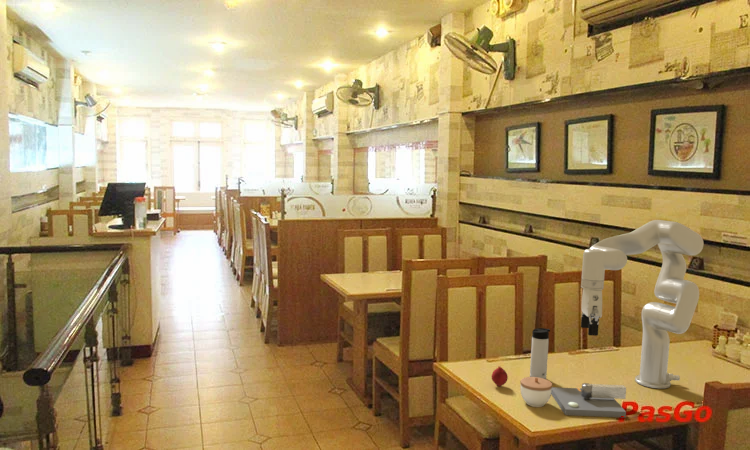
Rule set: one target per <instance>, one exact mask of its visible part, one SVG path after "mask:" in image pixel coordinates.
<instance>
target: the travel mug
mask: <svg viewBox="0 0 750 450" xmlns="http://www.w3.org/2000/svg"><path fill="white" fill-rule="evenodd" d="M549 332H551V329H550V328H545V327H544V328H543V327H541V328H540V327H539V328H534V329H533V330H532V336H531V350H530V365H529V367H530V369H529V377H538V378H543V379H546V380H547V375H548V374H547V372H548V357H549V339H550V337H549V335H550V333H549Z"/></svg>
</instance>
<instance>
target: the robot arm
mask: <svg viewBox="0 0 750 450" xmlns="http://www.w3.org/2000/svg"><path fill="white" fill-rule="evenodd" d="M656 245H657V247H658V249H659V250H660V254H661V257H662V263H661V264H662V265H661V269H660V271H659V274H658V276H657V279H656V283H655V286H654V290H653V293H654V296H655V297H656V298H657V299H658V300H661V301H664V302H668V303H672V304H675V306H674V305H673V306H672V305H669V304H665V303H661V302H658V301H657V302H656V301H651V302H647V303H646V304H644V305H643V307H642V309H641V322H642V323H641V324H642V339H641V340H642V341H641V353H640V365H639V374H638V375H637V374H636V375H635V377H634V381H635V382H636V383H637V384H639V385H641V386H643V387H646V388H652V389H659V390H660V389H661V390H662V389H668V388H670V387H671V385H672V383H671V381H680V380H681V377H680V375H679V374H678V375H677V374H673V373H669V372H668V367H669V366H668V365H669V355H670V354H669V350H670V343H671V342H670V335H669V333H673V334H678V335H679V334H680V335H681V334H684V333H686V332H687V330H688V329H689V328H690V325H691V322H692V320H693V317H694V314H695V311H696V308H697V305H698V303H699V300H700V288H699V287H698V285H697V283H695V282H694V281H691V280H687V279H684V278H685V275H686V273H687V262H686V259H685V258H684V255H686V256H696V255H699V254H700V253H701V252H702V251H703V248H704V240H703V237H702V236H701V234H700V233H698V232H696V231H694V230H693V229H691V228H689V227H688V226H686V225H684V224H683V223H681V222H679V221H674V220H673V221H672V220H663V219H653V220H650V221H648V222H647V223H645V224H643V225H641V226H640V227H637V228H635V230H633V231H631V232H627V233H623V234H620V235H619V234H618V235H614V236H610V237H607V238H604V239H601V240H599V241H598V242H596V243H595V244H593V245H591V247H589V248H587V249H584V251H583V254H582V264H581V265H582V267H581V278H580V279H581V281H580V282H581V283H580V288H582V295H581V305H580V307H581V309H580V310H581V319H580V327H581V328H582V329H584V328H585V329H588V331H587V335H588V336H596V337H597V336H598V335H599V325H600V322H599V321H600V319H601V318H602V316H603V290H604V286H605V274H606V273H605V272H606V270H610V271H620V270H623V268H624V267H626V265H627V263H628V256H629V255H631V256H632V255H640V254H643V253H645V252H647V251H649V250H650V249H651V248H653V247H655V246H656Z"/></svg>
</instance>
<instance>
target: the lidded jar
mask: <svg viewBox="0 0 750 450" xmlns="http://www.w3.org/2000/svg"><path fill="white" fill-rule="evenodd" d="M519 381H520V394H521V397H522V399H523V401H524V402H525V403H526V405H528V406H530V407H532V408H533V407H534V408H541V407H544V406H545V405H546V404H547V403H548V402H549V401H550V398H551V396H552V394H551V390H552V387H553V383H552V382H551V381H550V380H549V379H547V378H546V379H543V378H538V377H530V376H526V377H523V378H521V379H520V380H519Z"/></svg>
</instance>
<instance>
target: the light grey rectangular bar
mask: <svg viewBox="0 0 750 450" xmlns="http://www.w3.org/2000/svg"><path fill="white" fill-rule="evenodd" d="M581 388H582V391H581V396H582V397H584V399H590V398H614V399H615V400H617V399H618V400H619V399H620V400H625V399H626V397H627V387H626V386H625V385H623V384H604V383H603V384H599V383H586V382H584V383H582V384H581Z"/></svg>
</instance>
